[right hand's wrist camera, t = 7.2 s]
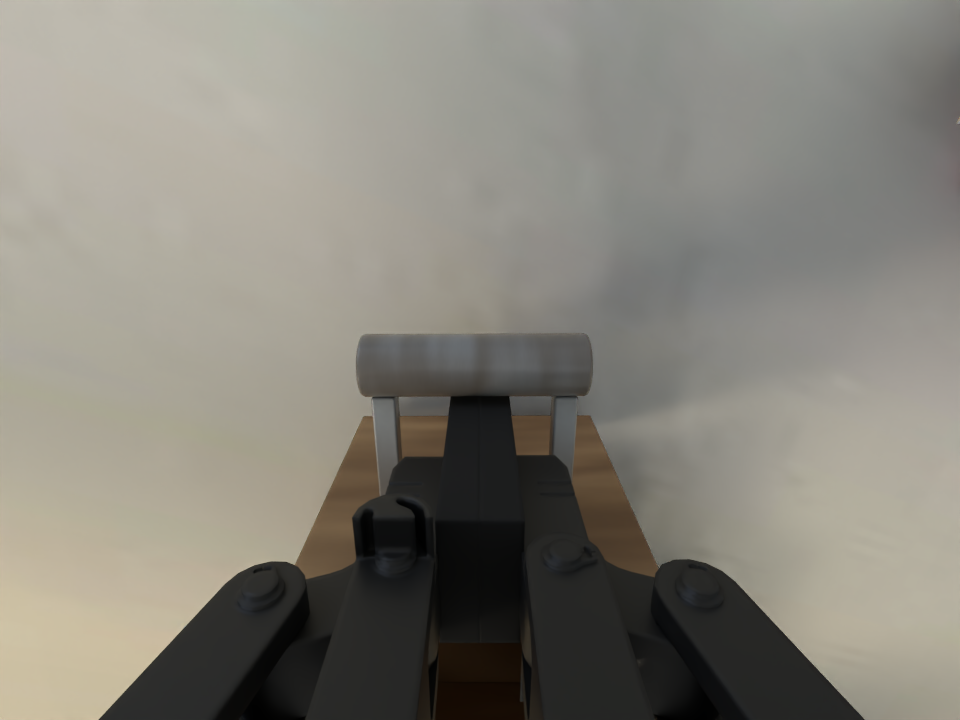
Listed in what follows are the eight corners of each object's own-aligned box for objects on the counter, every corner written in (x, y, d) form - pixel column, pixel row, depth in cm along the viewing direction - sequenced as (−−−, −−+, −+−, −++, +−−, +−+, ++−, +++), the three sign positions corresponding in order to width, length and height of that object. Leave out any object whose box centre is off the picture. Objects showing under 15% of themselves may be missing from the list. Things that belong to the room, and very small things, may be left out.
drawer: (349, 276, 19) (232, 376, 10) (602, 275, 19) (714, 374, 10) (387, 671, 27) (339, 936, 17) (569, 670, 27) (617, 935, 17)
